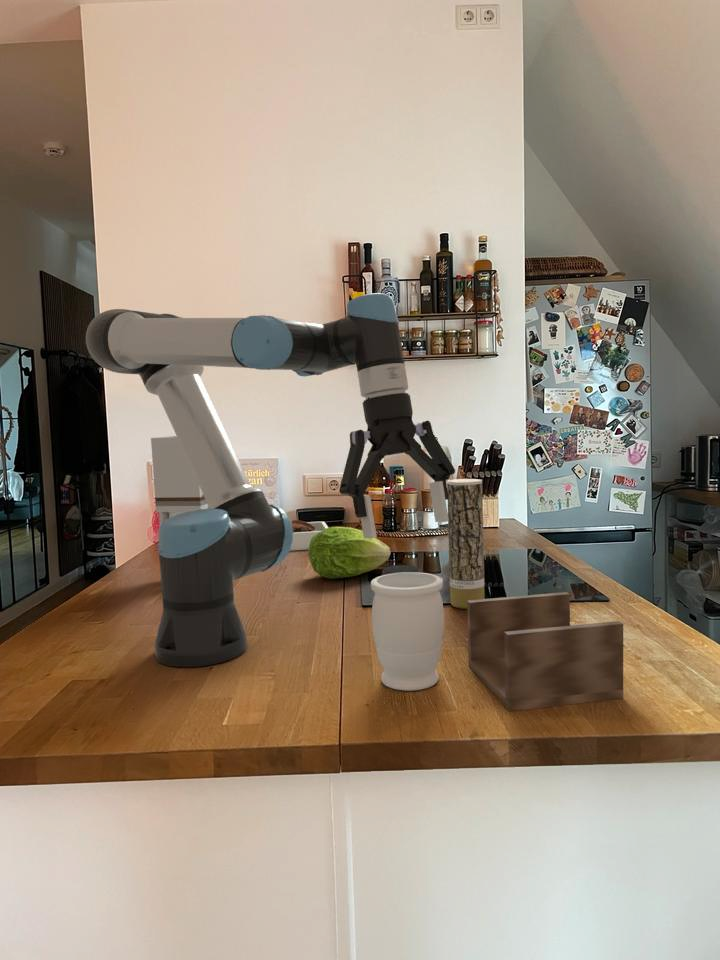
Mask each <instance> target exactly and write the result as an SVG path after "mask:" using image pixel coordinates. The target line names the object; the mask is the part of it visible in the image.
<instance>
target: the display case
mask: <svg viewBox="0 0 720 960" xmlns="http://www.w3.org/2000/svg"><path fill="white" fill-rule="evenodd" d="M150 445H151V458H152V471H153V485H154V486H153V490H154V501H155V512H156V513H158V520H159V523H158V524H159V527H160V526H161V524H162V523H163V522H164V521H165V520H167V519H168V518H170V517H173V516H175V515H178V514H181V513H185V512H189V511H196V510H200V509H207V508H208V503H207V501H206V499H205V497H204V495H203V493H202V490H201V488H200V486H199V484H198V482H197V479H196V477H195V475H194V473H193V471H192V468H191V466H190V464H189V462H188V460H187V458H186V455H185V453H184V451H183V449H182V447H181V444H180V442H179V440H178V438H177V436H176V435H169V436H160V437H150ZM160 586H161V588H162V584H161V583H160Z"/></svg>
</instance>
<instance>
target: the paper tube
mask: <svg viewBox="0 0 720 960" xmlns="http://www.w3.org/2000/svg"><path fill="white" fill-rule="evenodd" d="M446 485H447V491H448V500H447V512H448V519H449V521H447V531H448V565H449V567H448V568H449V571H448V572H449V596H450V597H449V599H450V600H449V601H450V604H451V605H452V606H453V607H454V608H457V609H462V610H467V601H468V600H480V599H486V598H485V558H484V556H485V555H484V554H485V551H484V550H485V549H484V508H483V507H484V505H483V503H484V501H483V500H484V499H483V479H480V478H479V479H477V478H456V479H455V478H454V479H448V480H447V482H446Z"/></svg>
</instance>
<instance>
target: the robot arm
mask: <svg viewBox="0 0 720 960" xmlns="http://www.w3.org/2000/svg"><path fill="white" fill-rule="evenodd" d="M399 324H400V320H399V318H398V315H397V310H396V305H395V302H394V299H393V297H392V296H390V294H385V293H380V292H379V293H378V292H375V293H368V294H362V295H359V296H356V297H354V298H353V299H351V300H349V301H348V302H347V304H346V316H344V317H342V318H340V319H337V320H334V321H329V322H327V323H313V322H306V321H300V320H299V321H297V320H290V319H284V318H278V317H275V316H273V315H265V314H264V315H250V316H247V317H182V316H178V315H176V314H170V313H161V314H160V313H159V314H158V313H154V312H153V313H152V312H146V311H140V310H131V309H126V308H114V309H109V310H106V311H105V310H104V311H103V312H100V313H99V314H97V315H96V316H95V317H94V318H93V319H92V320H91V321H90V323H89V325H88V326H87V329H86V332H85V344H86V348H87V351H88V354H89V355H90V356H91V358H92V359H93V360H94V362H95V363H96V364H98V365H99V366H100V367H101V368H103V369H105V370H106V371H110V372H112V373H116V374H117V373H118V374H127V375H139V377H140V379H141V381H142V382H143V385H144V387H145V390H146V392H148V393H150V394H152V395H155V396H158V399H159V401H160V403H161V405H162V408H163V409H164V411H165V414H166V415H167V418H168V420H169V422H170V424H171V427H172V429H173V431H174V433H175V436H177V438H178V440H179V442H180V444H181V447H182V449H183V451H184V453H185V455H186V458H187V460H188V462H189V464H190V466H191V468H192V471H193V473H194V475H195V477H196V479H197V482H198V484H199V486H200V488H201V490H202V493H203V495H204V497H205V499H206V501H207V503H208V508H207V509H200V510H196V511H189V512H185V513H181V514H178V515H175V516H173V517H170V518H168V519H167V520H165V521H164V522H163V523H162V524H161V526H160V525H159V528H158V544H157V553H158V559H159V570H160V585H161V584H162V587H161V597H162V614H161V617H160V622H159V626H158V629H157V634H156V637H155V641H154V655H155V656H154V657H155V660H156V661H157V662H158V663H160V664H163V665H165V666H169V667H175V668H176V667H179V668H194V667H195V668H197V667H205V666H206V667H207V666H210V665H211V666H212V665H216V664H220V663H224V662H227V661H230V660H233V659H235V658H237V657H239V656H241V655H242V654H243V653H245V652H246V650H247V649H248V639H247V638H248V637H247V636H248V635H247V632H246V629H245V627H244V625H243V622H242V620H241V617H240V614H239V612H238V610H237V607H236V603H235V596H234V595H235V594H234V581H235V580H239V579H242V578H244V577H248V576H251V575H254V574H257V573H260V572H267V571H268V570H269V569H271V568H273V567H276V566H278V565H279V564H281V563H282V562H283V561H285V559H286V558H287V557H288V555H289V554H290V552H291V551H290V549H291V548H290V547H291V544H292V541H293V529H292V525H291V523H292V522H291V520H290V518H289V516H288V514H287V513H286V511H285V510H283V508H281V507H278V506H277V505H275V504H272V503H271V504H270V503H269V501H268V500H267V498H266V496H265V493H264V491H263V490H262V489H259V488H257V487H253V486H252V485H251V483H250V481H249V479H248V477H247V474H246V473H245V470H244V468H243V466H242V464H241V462H240V460H239V458H238V456H237V454H236V452H235V449H234V447H233V445H232V443H231V441H230V438H229V437H228V434H227V432H226V430H225V428H224V425H223V424H222V422H221V419H220V418H219V415H218V413H217V411H216V409H215V406H214V404H213V403H212V400H211V399H210V396H209V394H208V391H207V390H206V388H205V386H204V384H203V381H202V379H201V377H202V375H203V372H204V370H205V368H204V367H215V368H216V367H218V368H219V367H223V368H241V369H243V368H244V369H255V370H263V371H264V370H267V371H268V370H269V371H271V370H273V371H274V370H275V371H277V370H278V371H279V370H280V371H283V370H284V371H292V372H294V373H296V375H298V376H300V377H310V376H319V375H323V373H327V372H331V371H335V370H338V369H343V368H346V367H349V366H354V365H355V366H356V370H357V378H358V384H359V392H360V396H361V397H362V398H365V400H363V402H362V408H363V416H364V421H365V423H366V425H367V430H366V431H365V430H363V429H357V430H353V431H350V432H349V444H350V445H349V450H348V454H347V458H346V462H345V465H344V470H343V474H342V477H341V481H340V486H339V489H338V491H339V494H341V495H346V496H349V497H351V498H352V502H353V508H354V514H355V517H356V518H360V523H361V531H363V536H364V538H376V539H378V538H377V537H378V536H377V531H376V524H375V518H374V513H373V512H374V511H373V505H372V499H371V495H370V494H365V493H366V492H367V489H368V488H369V485H370V484H371V481H372V479H373V477H375V474H376V471H377V469H378V468H379V465H380V463H381V462H382V460H383V459H384V458H385V457H386V456H393V455H397V454H398V455H400V454H405V455H408V456H409V457H410V458H411V459H412V460H413V461H414V462H415V463H416V464H417V465H418V466H419V467H420V468H421V469H422V471H424V472H425V473H426V474H427V475H428V477H430V478H431V479H432V481H431V482H428V485H429V490H430V492H429V493H430V497H431V498H430V499H431V503H432V509H433V517H434V521H435V523H446V522H447V523H448V521H449V519H448V505H447V501H448V491H447V481H448V480H450V476H452V475H454V474H455V473H456V469H455V467H454V465H453V463H452V462H451V461H450V459H449V457H448V455H447V454H446V452H445V450H444V449H443V447H442V445H441V444H440V442H439V441H438V439H437V437H436V436H435V434H434V431H433V427H432V423H431V421H429V420H424V421H419V422H417V423H416V424H415V423H414V421H413V413H414V412H413V405H412V399H411V395H410V394H409V393H408V392H406V391H408V390H409V382H408V377H407V371H406V370H407V369H406V364H405V359H404V353H403V348H402V340H401V334H400V326H399ZM415 435H416V436H418V439H419V440H420V442H421V443H422V445H421V444H420V443H419V442H418V441H417V440H416V439H415ZM368 442H369V443H370V444H371V447H370V449H369V451H368V453H367V458H366V460H365V462H364V463H363V466H362V467H361V464H362V461H363V460H362V459H363V454H364V451H365V445H366V444H367V443H368ZM422 446H423V447H424V448H425V451H424V449H423V448H422ZM426 451H427V452H426ZM360 467H361V469H360Z"/></svg>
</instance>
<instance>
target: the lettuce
mask: <svg viewBox="0 0 720 960" xmlns="http://www.w3.org/2000/svg"><path fill="white" fill-rule="evenodd" d="M307 552H308V558H309V563H310V564H311V568H312V570H313V572H315V573H316V574H318V576H321V577H323V578H326V579H332V580H335V579H345V578H353V577H356V576H360V575H361V574H364V573H365V574H366V573H368V572H370V571H373V570H375V569H377V568H378V567H380V566H381V565H383V564H384V563H386V562H387V560H389V559H390V555H391V548H390V547H389V546H388V545H387V544H386V543H384V542H383V541H381V540H379V539H378V538H364V536H363V530H362V529H357V528H355V527H354V528H353V527H349V526H330V527H328V528H327V529H325V530H323V531H321V532H319V533H318V534H316V535H315V536H313V537H312V538H311V541H310V545H309V549H307Z"/></svg>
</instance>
